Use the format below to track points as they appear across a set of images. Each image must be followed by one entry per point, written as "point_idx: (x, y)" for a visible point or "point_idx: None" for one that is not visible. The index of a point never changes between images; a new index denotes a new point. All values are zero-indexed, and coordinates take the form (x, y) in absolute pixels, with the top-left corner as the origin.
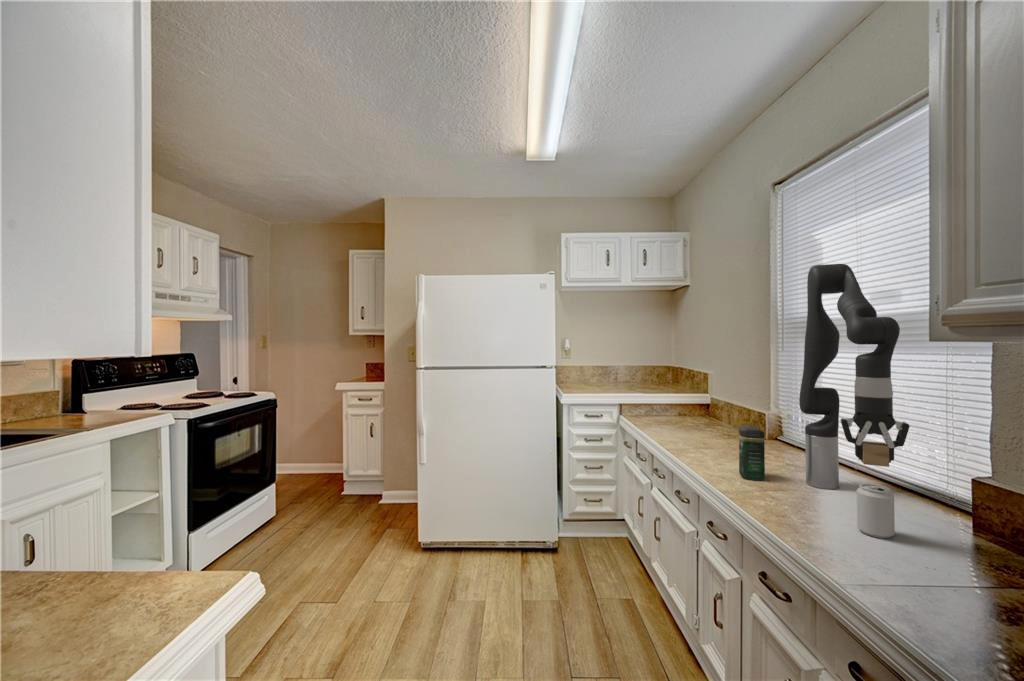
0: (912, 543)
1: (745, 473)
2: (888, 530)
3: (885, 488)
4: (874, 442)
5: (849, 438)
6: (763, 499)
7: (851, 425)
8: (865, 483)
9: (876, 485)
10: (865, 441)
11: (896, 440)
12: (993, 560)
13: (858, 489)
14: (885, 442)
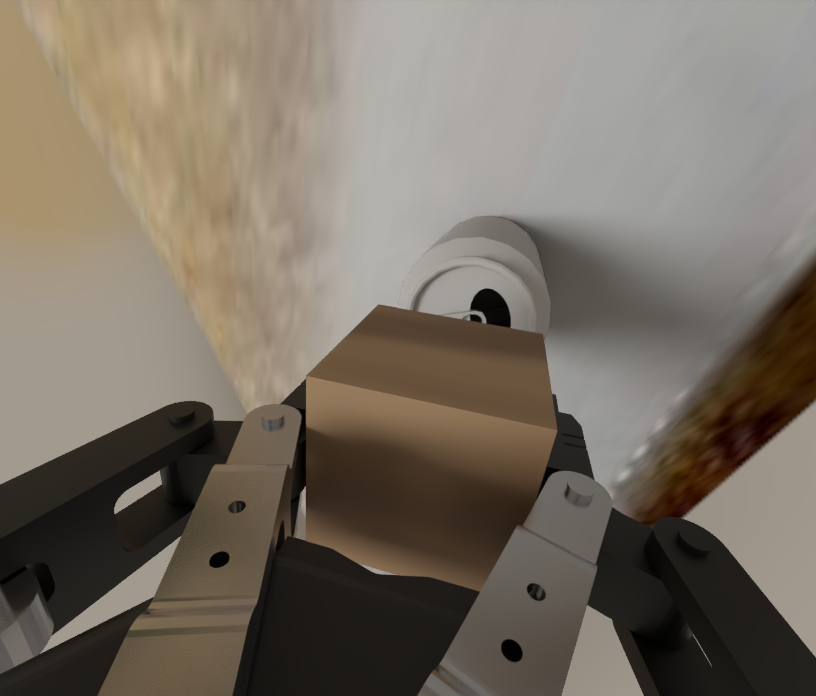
0: (570, 323)
1: None
2: (504, 326)
3: (525, 304)
4: (436, 440)
5: (177, 511)
6: (152, 17)
7: (42, 644)
8: (442, 265)
9: (494, 271)
10: (353, 407)
11: (659, 585)
12: (764, 386)
13: (402, 307)
14: (537, 502)
